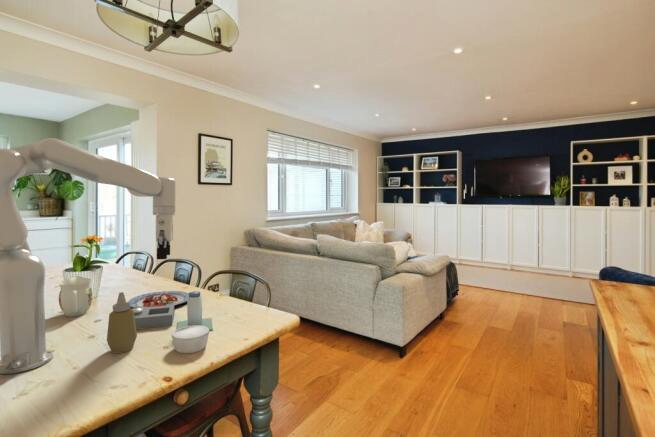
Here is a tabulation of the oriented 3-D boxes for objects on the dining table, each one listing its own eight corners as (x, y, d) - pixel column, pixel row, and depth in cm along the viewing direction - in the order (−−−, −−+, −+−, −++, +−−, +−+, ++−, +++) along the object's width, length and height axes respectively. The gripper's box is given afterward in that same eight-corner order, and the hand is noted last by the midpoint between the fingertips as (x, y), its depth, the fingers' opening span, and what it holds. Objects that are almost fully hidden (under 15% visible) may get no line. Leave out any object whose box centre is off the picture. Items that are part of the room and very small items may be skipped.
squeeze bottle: (131, 341, 111) (130, 287, 110) (141, 349, 106) (140, 292, 105) (102, 350, 104) (101, 292, 103) (112, 358, 99) (111, 298, 98)
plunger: (142, 322, 125) (141, 310, 125) (129, 323, 124) (129, 311, 124) (143, 318, 129) (143, 307, 129) (131, 320, 128) (131, 308, 128)
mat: (212, 330, 121) (212, 329, 121) (176, 334, 117) (176, 333, 117) (211, 319, 132) (211, 317, 132) (178, 322, 128) (178, 321, 128)
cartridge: (202, 326, 123) (201, 293, 122) (187, 328, 121) (187, 295, 121) (202, 322, 128) (201, 290, 127) (187, 323, 126) (187, 291, 125)
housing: (174, 314, 137) (174, 305, 136) (172, 325, 126) (172, 314, 125) (129, 319, 131) (129, 309, 131) (122, 330, 120) (122, 319, 120)
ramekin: (190, 337, 115) (190, 322, 114) (216, 343, 111) (216, 327, 110) (163, 351, 104) (163, 334, 104) (191, 358, 100) (191, 340, 100)
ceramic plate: (121, 302, 153) (121, 295, 153) (180, 292, 170) (180, 286, 170) (135, 317, 134) (134, 310, 134) (199, 304, 151) (199, 298, 151)
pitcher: (56, 323, 125) (55, 287, 124) (61, 310, 140) (60, 277, 139) (92, 318, 131) (91, 283, 131) (93, 306, 146) (92, 274, 145)
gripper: (172, 211, 117) (172, 260, 118) (177, 210, 134) (177, 253, 134) (148, 211, 115) (148, 261, 116) (156, 210, 131) (156, 253, 132)
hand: (163, 257), depth 125 cm, fingers open, 9 cm apart
